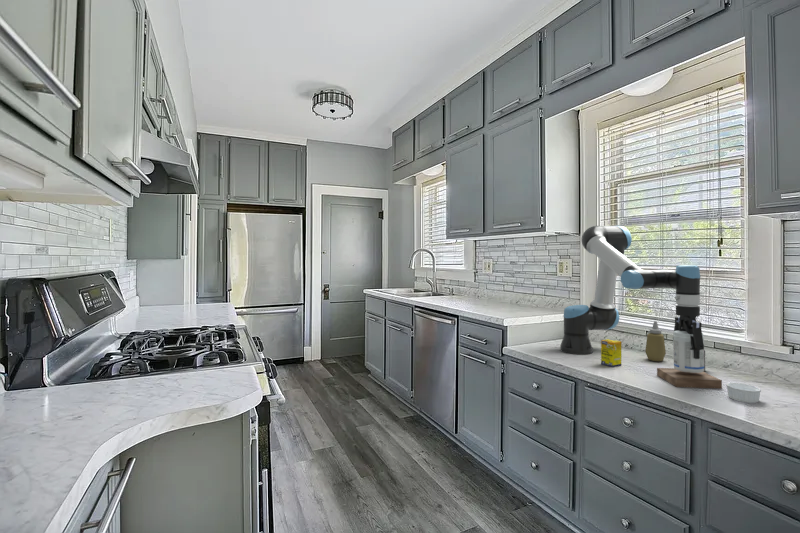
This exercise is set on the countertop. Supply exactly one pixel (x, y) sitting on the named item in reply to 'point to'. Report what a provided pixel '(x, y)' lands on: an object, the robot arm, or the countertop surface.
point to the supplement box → (611, 352)
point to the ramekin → (743, 392)
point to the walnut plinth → (689, 378)
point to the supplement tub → (685, 353)
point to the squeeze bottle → (655, 344)
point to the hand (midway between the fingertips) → (687, 363)
